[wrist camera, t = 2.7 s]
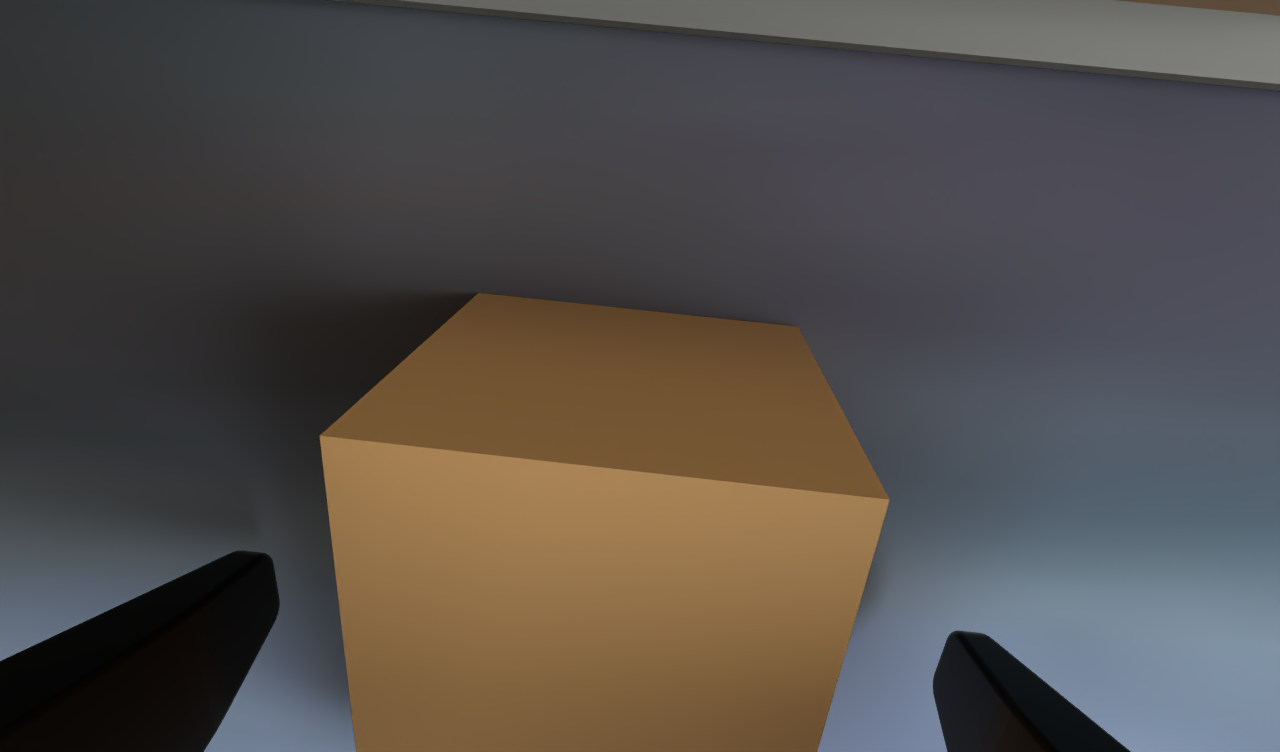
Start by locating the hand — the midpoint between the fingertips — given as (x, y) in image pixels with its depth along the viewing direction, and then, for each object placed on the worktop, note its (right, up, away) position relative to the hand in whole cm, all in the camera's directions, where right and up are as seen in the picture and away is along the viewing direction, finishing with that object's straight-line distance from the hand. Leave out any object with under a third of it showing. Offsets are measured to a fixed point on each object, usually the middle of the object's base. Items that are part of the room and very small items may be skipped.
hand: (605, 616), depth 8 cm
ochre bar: (0, 0, +1) cm, 1 cm away
